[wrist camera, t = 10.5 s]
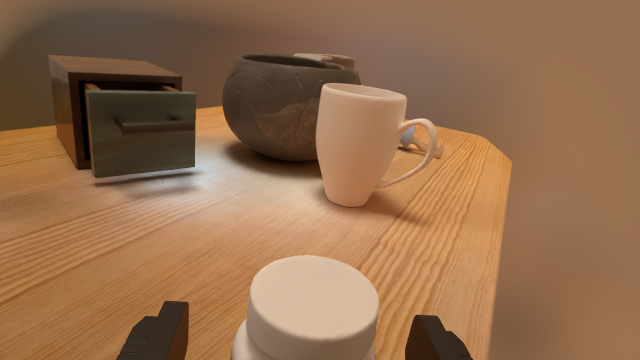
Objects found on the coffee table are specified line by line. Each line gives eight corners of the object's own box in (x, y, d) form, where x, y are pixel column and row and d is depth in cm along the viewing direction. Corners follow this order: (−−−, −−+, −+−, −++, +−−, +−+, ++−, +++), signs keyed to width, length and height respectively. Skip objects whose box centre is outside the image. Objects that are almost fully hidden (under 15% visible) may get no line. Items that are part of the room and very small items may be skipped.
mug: (291, 197, 39) (305, 83, 35) (331, 178, 45) (346, 81, 41) (402, 239, 33) (433, 111, 29) (428, 210, 40) (456, 103, 36)
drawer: (210, 179, 38) (213, 101, 35) (105, 193, 32) (98, 101, 29) (158, 137, 48) (157, 75, 46) (71, 142, 42) (64, 71, 40)
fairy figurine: (449, 143, 56) (371, 119, 58) (437, 172, 58) (363, 148, 60) (446, 129, 66) (380, 109, 68) (436, 154, 68) (372, 134, 70)
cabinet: (181, 159, 45) (182, 76, 41) (77, 169, 38) (67, 71, 35) (147, 131, 53) (145, 61, 50) (57, 135, 47) (48, 54, 43)
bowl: (380, 170, 51) (399, 74, 46) (263, 188, 40) (273, 64, 35) (304, 135, 63) (313, 56, 59) (199, 140, 53) (201, 45, 48)
